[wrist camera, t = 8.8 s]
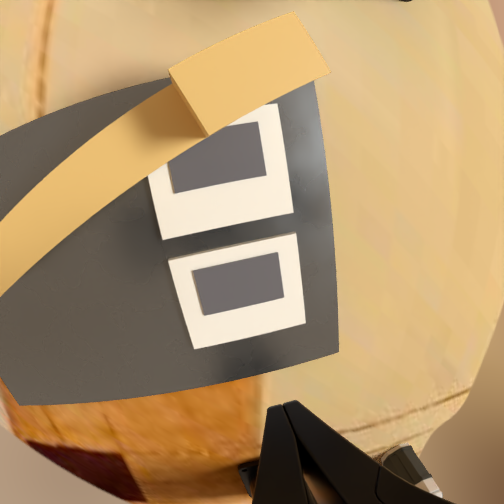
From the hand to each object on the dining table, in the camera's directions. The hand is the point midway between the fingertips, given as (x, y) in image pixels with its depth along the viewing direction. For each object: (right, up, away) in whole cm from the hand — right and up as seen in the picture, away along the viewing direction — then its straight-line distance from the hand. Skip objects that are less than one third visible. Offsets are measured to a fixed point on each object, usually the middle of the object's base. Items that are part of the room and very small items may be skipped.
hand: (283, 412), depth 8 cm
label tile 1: (-1, +3, +7) cm, 8 cm away
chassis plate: (-8, +4, +7) cm, 11 cm away
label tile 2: (-2, +8, +5) cm, 10 cm away
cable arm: (-7, +8, +4) cm, 11 cm away
